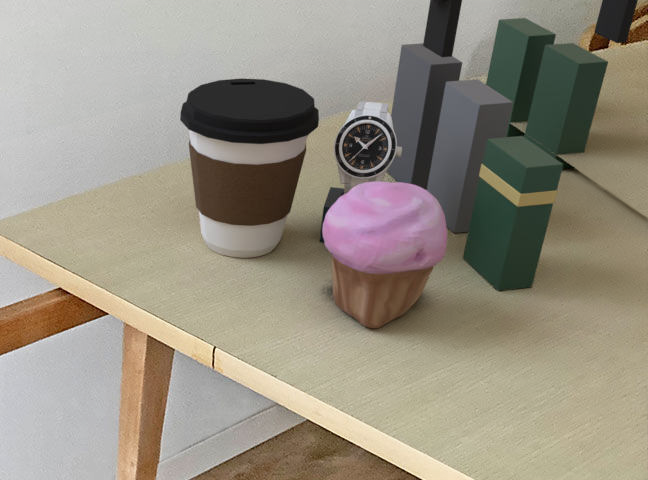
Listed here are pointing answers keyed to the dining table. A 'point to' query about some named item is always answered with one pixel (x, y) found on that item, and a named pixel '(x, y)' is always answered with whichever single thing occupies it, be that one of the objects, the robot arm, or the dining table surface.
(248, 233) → the coffee cup
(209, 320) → the dining table surface
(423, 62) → the grey books
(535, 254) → the green tan-banded upright block
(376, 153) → the watch
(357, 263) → the cupcake
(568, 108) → the green books
